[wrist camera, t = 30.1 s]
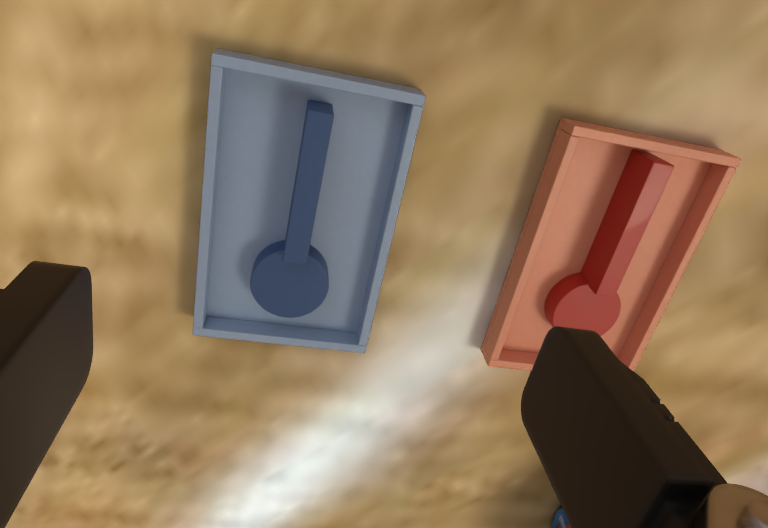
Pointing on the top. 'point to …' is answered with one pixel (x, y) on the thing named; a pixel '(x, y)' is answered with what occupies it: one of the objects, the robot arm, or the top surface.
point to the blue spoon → (298, 231)
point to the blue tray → (275, 188)
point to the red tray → (580, 225)
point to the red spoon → (610, 249)
